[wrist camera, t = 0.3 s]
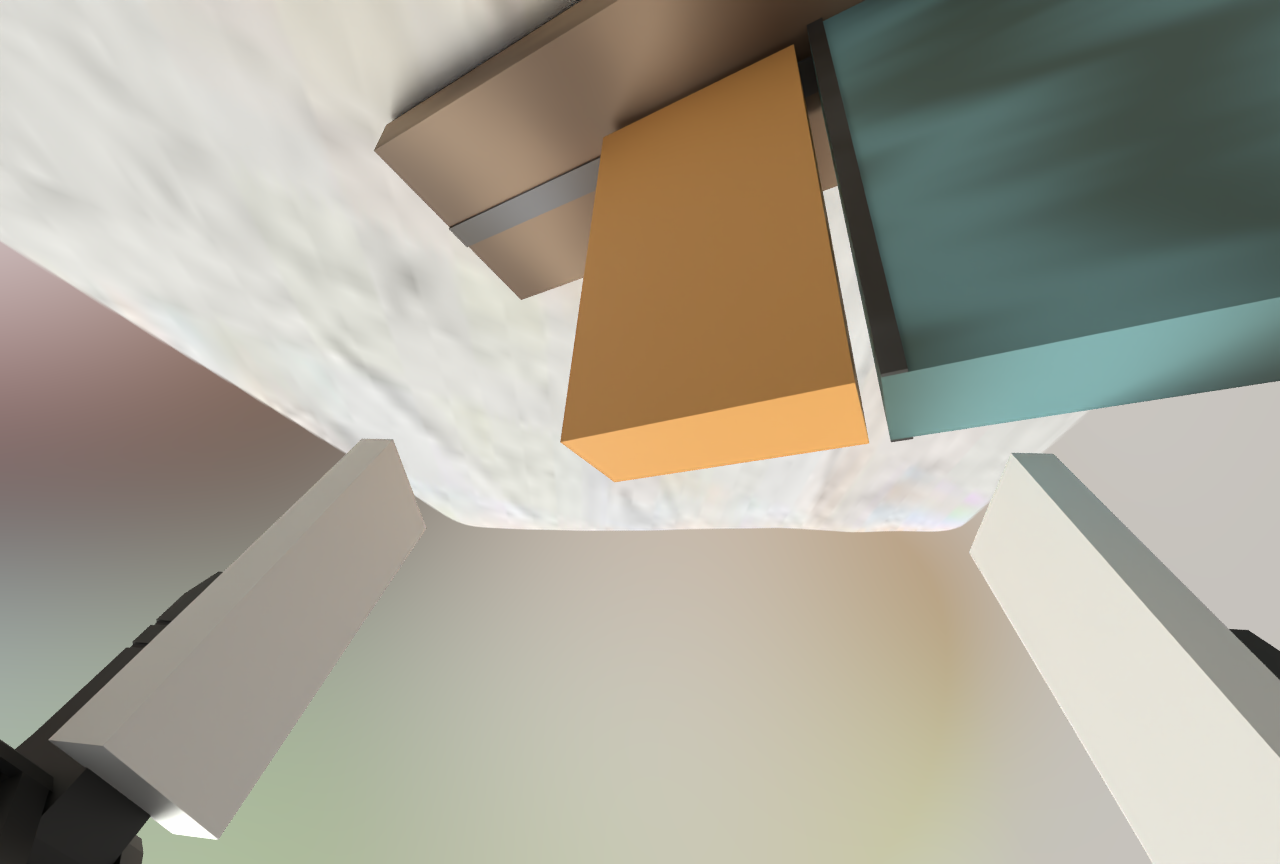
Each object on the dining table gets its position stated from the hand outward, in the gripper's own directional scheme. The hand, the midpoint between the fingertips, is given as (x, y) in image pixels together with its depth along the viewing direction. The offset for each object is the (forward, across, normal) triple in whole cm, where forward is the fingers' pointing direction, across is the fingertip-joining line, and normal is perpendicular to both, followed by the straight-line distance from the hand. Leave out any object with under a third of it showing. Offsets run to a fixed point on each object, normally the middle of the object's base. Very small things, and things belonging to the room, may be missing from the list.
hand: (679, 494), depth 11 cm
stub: (+10, 0, +7) cm, 12 cm away
